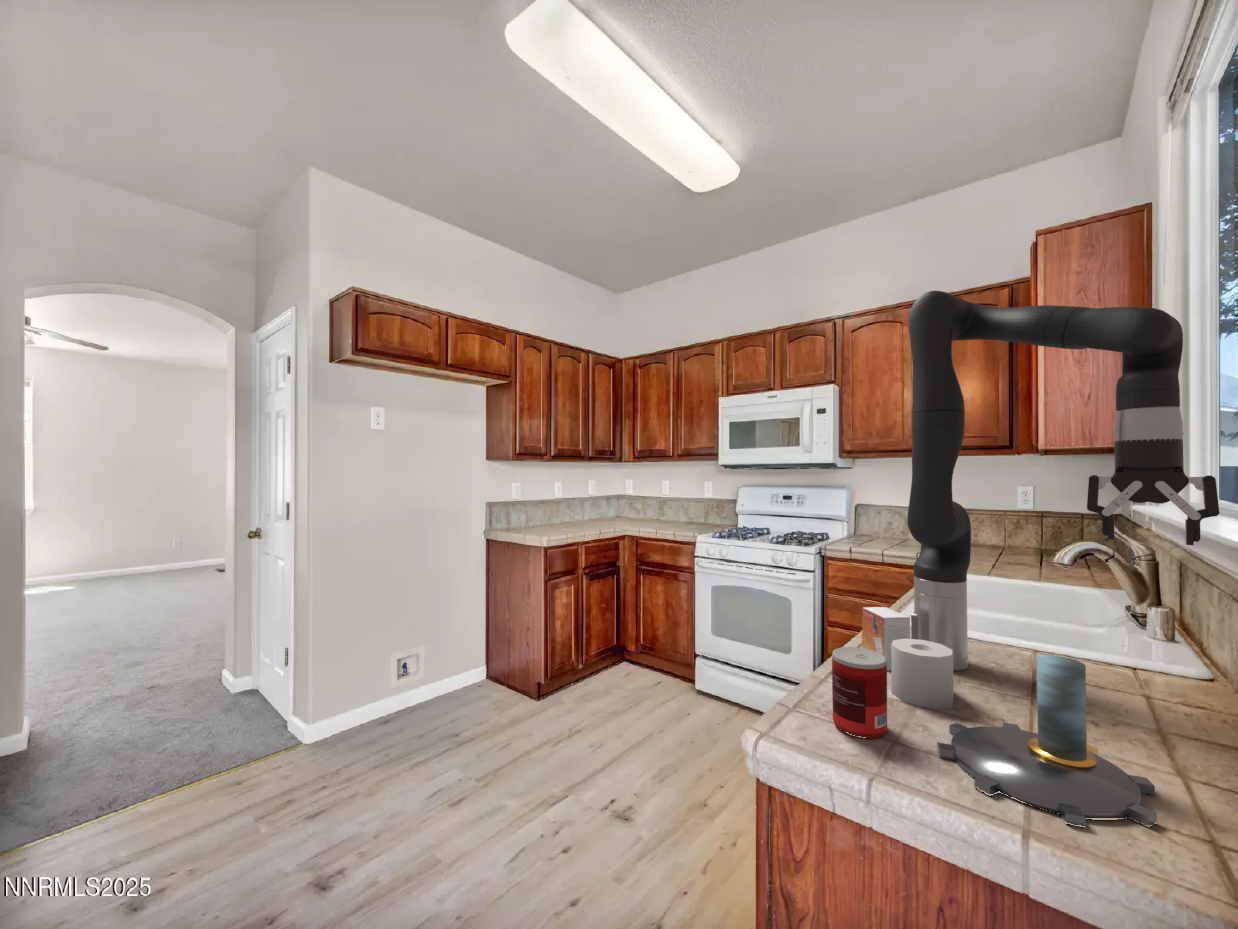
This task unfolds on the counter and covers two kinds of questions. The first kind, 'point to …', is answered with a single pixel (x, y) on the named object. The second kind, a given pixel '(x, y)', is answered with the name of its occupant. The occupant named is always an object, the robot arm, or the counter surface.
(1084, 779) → the sprocket plate
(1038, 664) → the pin
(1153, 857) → the counter surface
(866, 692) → the canned food
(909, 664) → the toilet tissue
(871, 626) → the small box
